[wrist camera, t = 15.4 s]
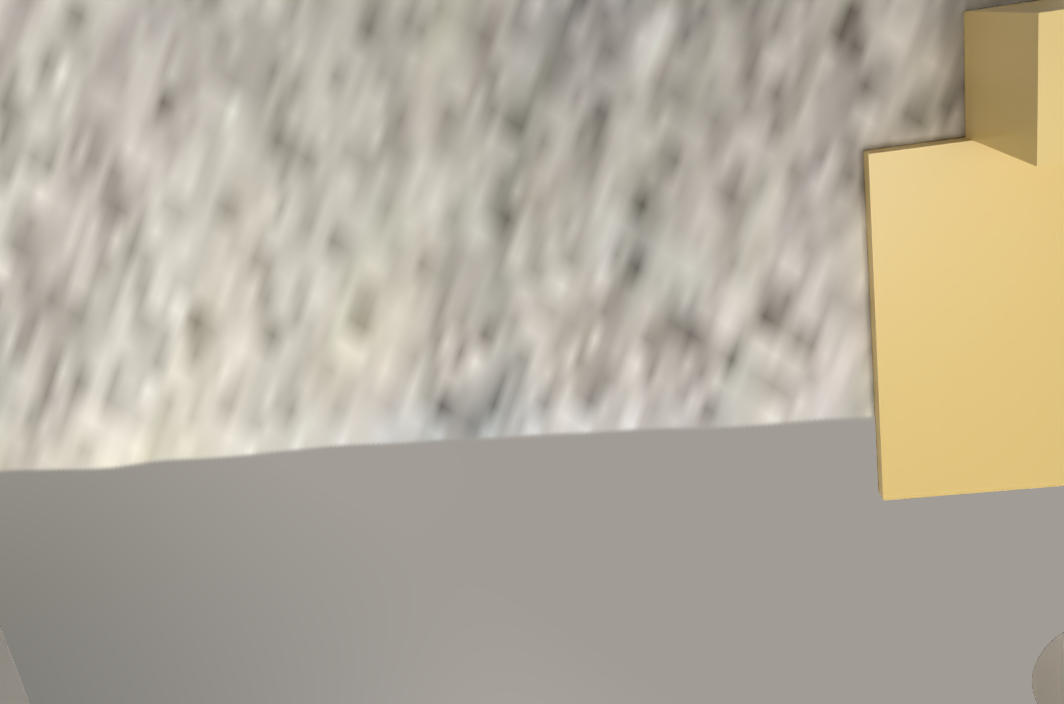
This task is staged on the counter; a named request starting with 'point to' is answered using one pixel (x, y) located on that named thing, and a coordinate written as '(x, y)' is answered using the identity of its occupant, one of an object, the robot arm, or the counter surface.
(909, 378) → the lid
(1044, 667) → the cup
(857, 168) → the counter surface
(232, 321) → the counter surface
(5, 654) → the robot arm
